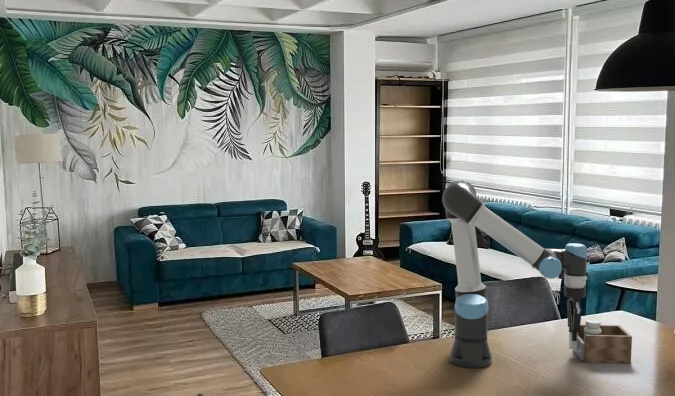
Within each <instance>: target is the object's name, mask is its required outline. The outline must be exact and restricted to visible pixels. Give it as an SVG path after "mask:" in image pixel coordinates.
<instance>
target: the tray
mask: <svg viewBox="0 0 675 396" xmlns="http://www.w3.org/2000/svg"><path fill="white" fill-rule="evenodd" d="M572 351H573V352H574V353H575V354H576V356H577V357H578V358H579V360H580V361H581V362H584V358H585V343H584V342H583V341H582V339H581V338H580V337H579V336H578V341H577V349H572Z"/></svg>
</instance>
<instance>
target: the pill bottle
mask: <svg viewBox="0 0 675 396" xmlns="http://www.w3.org/2000/svg"><path fill="white" fill-rule="evenodd" d="M585 325H586V326H587V327H585V328H584V343H585V335H602V330H601V329H600V328H599V327H600V326H601V325H602V324H601V321H600V320H598V319H587V320H585Z"/></svg>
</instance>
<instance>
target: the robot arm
mask: <svg viewBox="0 0 675 396" xmlns="http://www.w3.org/2000/svg"><path fill="white" fill-rule="evenodd" d="M441 200H442V204H443V207H444V209H445V218H446V220H448V221H449V222H450V224H451V232H452V239H453V249H454V251H453V252H454V257H455V267H456V274H457V275H456V276H457V285H456V287H455V288H454V294H455V302H454V303H455V304H454V339H453V340H454V341H453V343H452V346H451V349H450V351H449V362H450V363H452V364H453V365H455V366H458V367H463V368H470V369H473V368H474V369H477V368H478V369H479V368H485V367H488V366H490V365H492V363H493V356H492V353H491V350H490V346H489V342H488V321H489V318H488V317H489V307H490V303H489V299H488V295H487V285H485V284H484V283H483V282H482V277H481V276H482V275H481V269H480V268H481V267H480V260H479V259H480V258H479V250H478V243H477V242H478V241H477V234H476V232H477V231H476V228H478V229H479V230H481V232H483V233H485V234H486V235H488V236H490V237H491V238H492V239H493V240H495V241H496V242H497V243H499V244H500V245H501V246H503V247H504V248H506V249H508V250H509V251H510V252H511V253H513V254H514V255H515V256H518V257H519V258H520V259H521V260H523V261H524V262H526V263H527V264H529V266H531V268H532V269H535V270H537V271H538V273H540V275H541V276H542V277H544V278H545V279H549V280H551V279H552V280H553V279H555V278H557V277H559V276H560V275H561V273H562V271H563V270H564V273H563V274H564V276H563V277H564V278H563V281H564V282H563V283H564V287H563V295H564V297H566V298H568V300H566V307H567V327H568V333H569V334H568V348H569V350H573V349H577V341H578V332H580V325H581V324H582V323H581V321H582V314H583V308H581V307H582V302H581V299H584V298H585V297H586V294H587V293H586V290H587V289H586V285H587V280H588V277H587V264H588V263H587V262H588V261H587V260H588V256H587V255H588V251H587V249H588V248H587V246H586V245H585V244H584V243H583V244H582V243H578V242H577V243H576V242H575V243H573V242H572V243H571V242H570V243H567V244H566V245H565V247H564V248H558V249H557V248H544V247H542V246H541V245H540V244H539V243H537V242H535V241H534V240H532V238H530V237H528V236H527V235H525V234H524V233H523V232H522V231H520V230H518V229H517V228H515V227H514V226H513V225H511V224H510V223H508V222H507V221H506V220H504V219H503V218H502V217H500V216H499V215H498V214H496V213H494V212H493V211H491V210H490V209H489V208H487V207H486V205H485V202H484V201H483V200H481V199H480V198H479V197H478V196H477V191H476V189H475V187H474V186H473V185H472V184H471V183H470V182H468V181H466V180H454V181H453V182H450V183H449V184H447V187H446V188H445V190H444V191H443V194H442V198H441Z"/></svg>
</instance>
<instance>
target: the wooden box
mask: <svg viewBox="0 0 675 396" xmlns="http://www.w3.org/2000/svg"><path fill="white" fill-rule="evenodd" d="M585 327H587V326H586V324H580V332H578V336H579V337H580V338H581V339H582V341H583V342H584V328H585ZM599 328H600V329H601V330H602V335H585V358H584V361H583V362H584V363H585V364H588V363H589V364H621V365H622V364H623V365H624V364H626V365H629V364H632V349H633V348H632V345H633V335H631V334H630V333H629V332H628V331H626V329H624V327H622V326H621V325H617V324H601V326H600V327H599Z"/></svg>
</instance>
